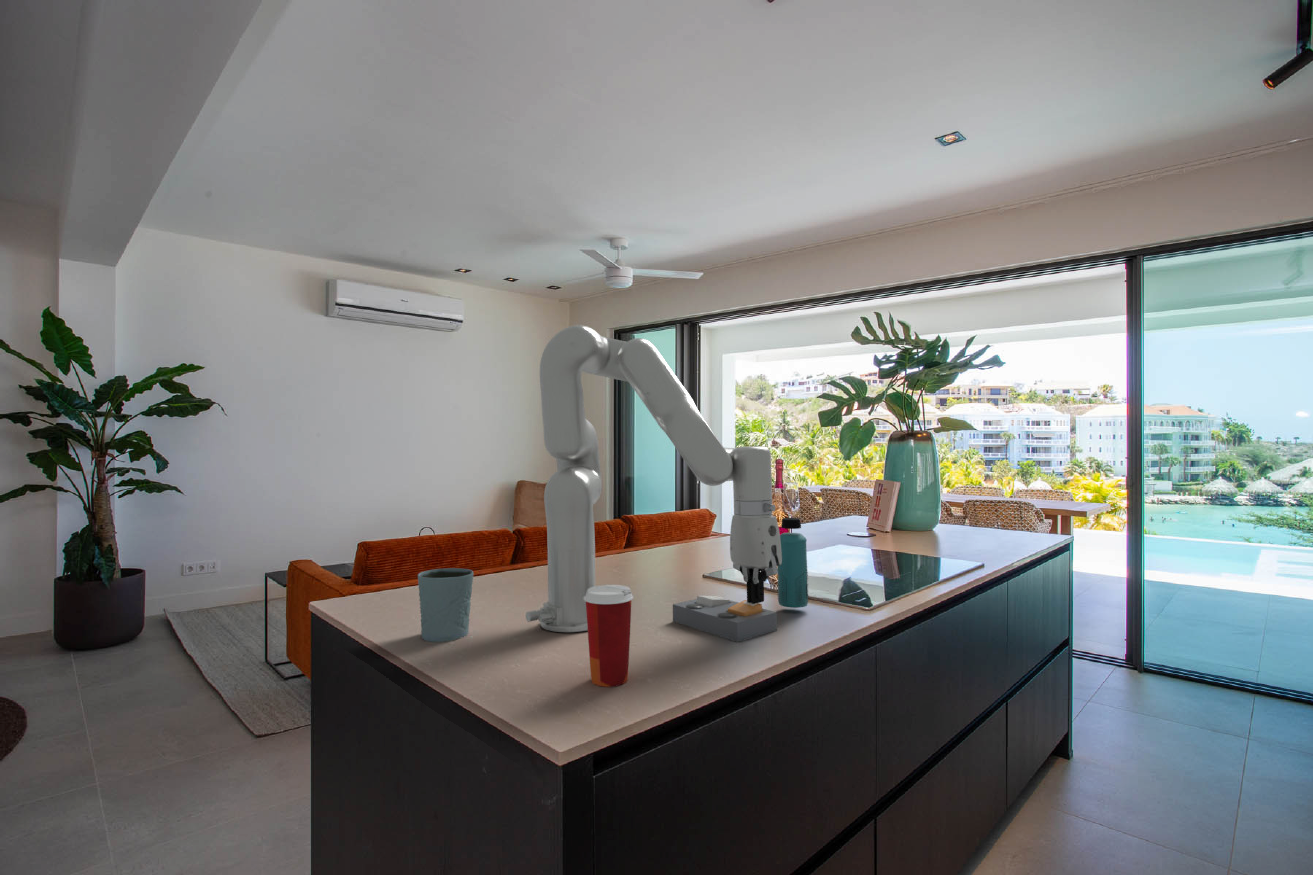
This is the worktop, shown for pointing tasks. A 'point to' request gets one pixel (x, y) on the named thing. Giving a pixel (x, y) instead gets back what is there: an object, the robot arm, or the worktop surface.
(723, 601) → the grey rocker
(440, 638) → the grey-blue cup
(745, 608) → the labelled cardboard parcel
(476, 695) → the worktop surface
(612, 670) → the paper cup
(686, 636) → the worktop surface
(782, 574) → the beverage bottle
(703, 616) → the grey switch box
